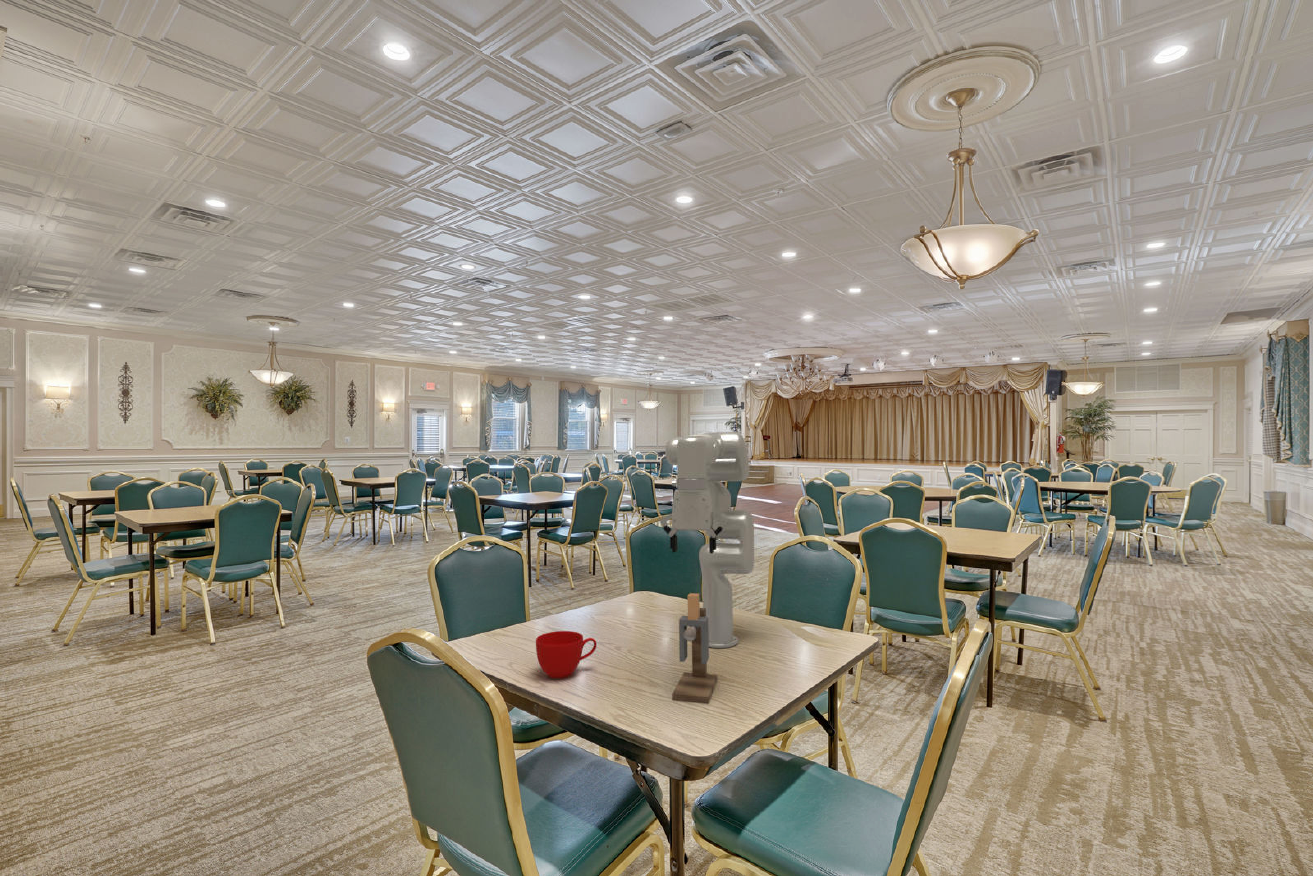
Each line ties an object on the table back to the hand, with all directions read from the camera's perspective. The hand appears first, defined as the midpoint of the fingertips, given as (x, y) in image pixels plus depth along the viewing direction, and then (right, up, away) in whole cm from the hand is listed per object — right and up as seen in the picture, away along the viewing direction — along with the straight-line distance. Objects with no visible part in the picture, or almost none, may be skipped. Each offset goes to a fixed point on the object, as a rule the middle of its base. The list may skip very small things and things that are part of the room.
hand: (693, 552), depth 151 cm
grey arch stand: (0, -27, -1) cm, 27 cm away
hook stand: (+1, -35, 0) cm, 35 cm away
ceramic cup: (-34, -36, +12) cm, 51 cm away
